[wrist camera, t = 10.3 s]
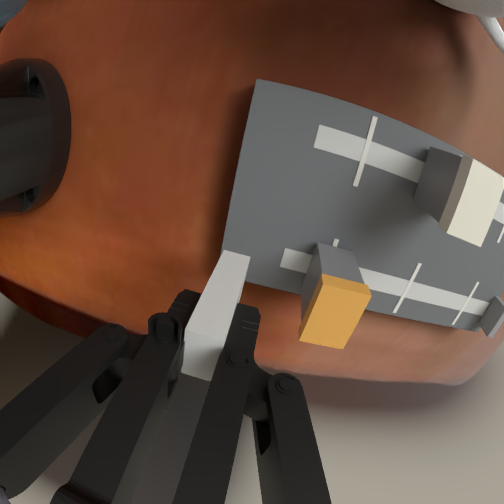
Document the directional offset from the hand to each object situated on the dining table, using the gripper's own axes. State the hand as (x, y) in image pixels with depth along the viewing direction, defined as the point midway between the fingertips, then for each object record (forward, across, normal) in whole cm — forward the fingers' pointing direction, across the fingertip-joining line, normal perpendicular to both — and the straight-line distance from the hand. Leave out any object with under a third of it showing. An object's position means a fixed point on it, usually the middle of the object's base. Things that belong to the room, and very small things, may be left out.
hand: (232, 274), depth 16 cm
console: (+5, +11, +4) cm, 13 cm away
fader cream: (+3, +11, +8) cm, 14 cm away
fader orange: (+3, +6, 0) cm, 6 cm away
